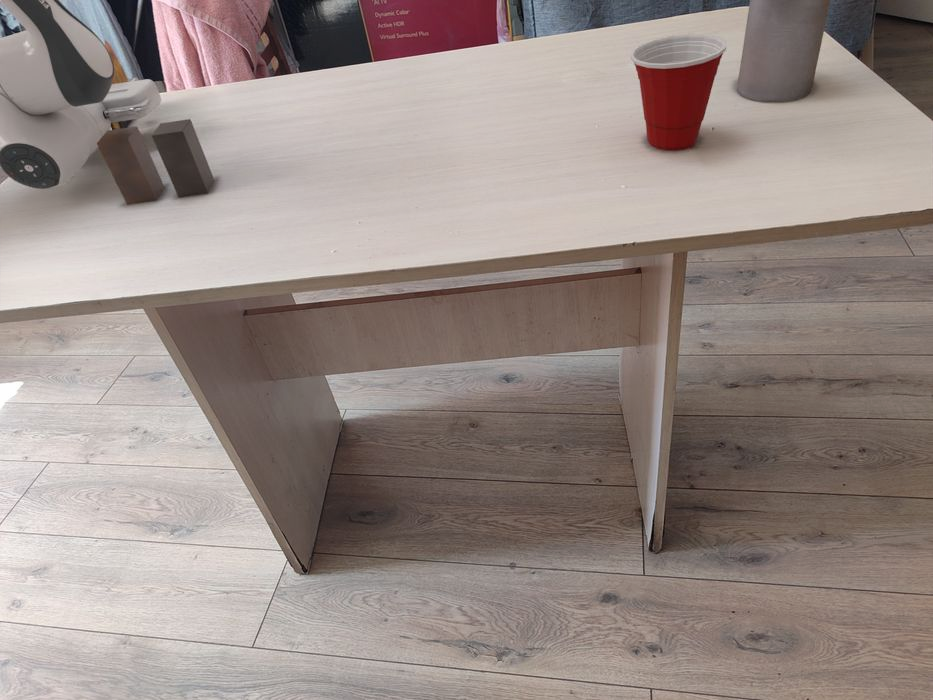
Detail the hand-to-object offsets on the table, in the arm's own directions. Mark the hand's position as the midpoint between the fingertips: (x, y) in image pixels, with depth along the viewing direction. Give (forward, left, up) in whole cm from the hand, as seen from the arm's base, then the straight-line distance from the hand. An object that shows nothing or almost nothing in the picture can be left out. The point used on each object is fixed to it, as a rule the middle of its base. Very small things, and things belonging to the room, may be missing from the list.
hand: (107, 87), depth 109 cm
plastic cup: (+82, -34, -7) cm, 89 cm away
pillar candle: (+100, -22, -7) cm, 103 cm away
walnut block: (+13, -29, -7) cm, 32 cm away
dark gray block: (+20, -29, -7) cm, 35 cm away
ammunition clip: (0, +2, -7) cm, 7 cm away
